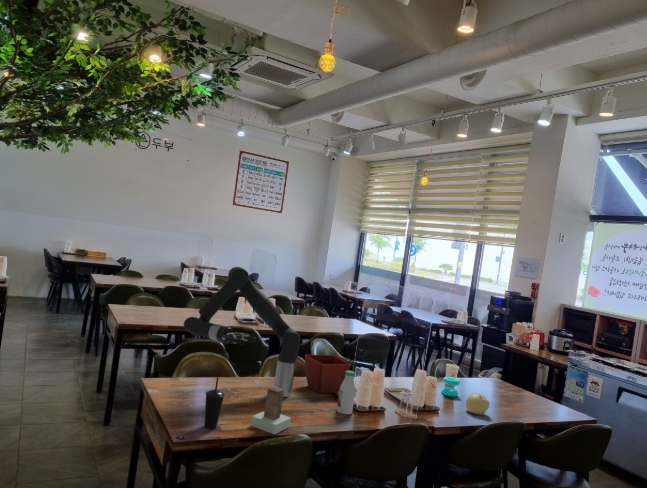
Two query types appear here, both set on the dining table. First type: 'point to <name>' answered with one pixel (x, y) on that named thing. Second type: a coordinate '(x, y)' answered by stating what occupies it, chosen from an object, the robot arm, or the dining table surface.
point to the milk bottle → (346, 394)
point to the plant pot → (325, 372)
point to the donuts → (451, 382)
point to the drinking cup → (213, 407)
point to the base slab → (270, 423)
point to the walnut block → (273, 403)
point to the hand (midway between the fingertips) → (249, 341)
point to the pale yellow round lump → (477, 404)
